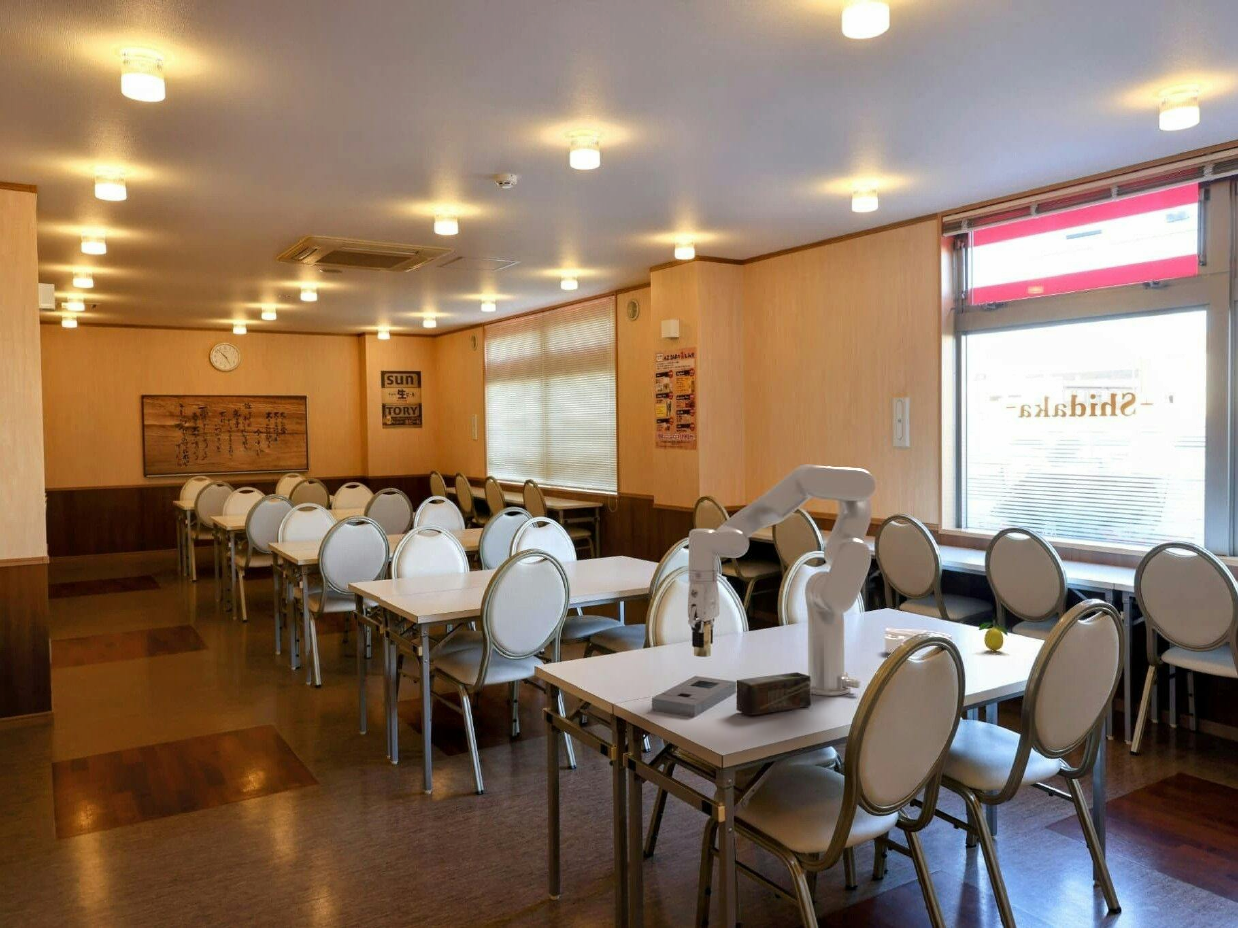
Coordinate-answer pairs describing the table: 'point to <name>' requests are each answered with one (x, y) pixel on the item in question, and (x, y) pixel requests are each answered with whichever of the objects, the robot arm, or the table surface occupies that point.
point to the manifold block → (694, 696)
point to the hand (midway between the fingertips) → (702, 644)
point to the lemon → (993, 636)
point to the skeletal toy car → (903, 637)
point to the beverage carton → (773, 693)
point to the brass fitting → (705, 641)
